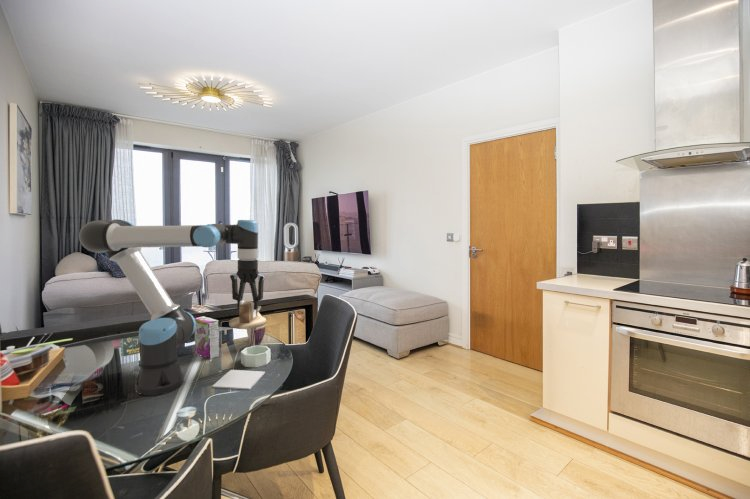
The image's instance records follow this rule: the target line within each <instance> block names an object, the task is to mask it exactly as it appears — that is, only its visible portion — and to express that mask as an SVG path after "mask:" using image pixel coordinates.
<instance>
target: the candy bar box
mask: <svg viewBox="0 0 750 499" xmlns="http://www.w3.org/2000/svg"><path fill="white" fill-rule="evenodd" d="M194 319H195V322H196V328H195V331H194V344H195V345H194V348H195V349H194V350H195V352H194V354H195V353H197V354H199V355H198V356H200V355H201V356H200V357H202V358H205V357H206V358H205V359H208V360H213V359H216V358H218V357H220V333H219V332H220V331H219V330H220V328H219V327H220V326H219V320H218V319H215V318H211V317H207V316H198V317H194ZM197 354H196V355H197ZM215 357H216V358H215ZM212 358H213V359H212Z"/></svg>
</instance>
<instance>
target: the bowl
mask: <svg viewBox="0 0 750 499" xmlns="http://www.w3.org/2000/svg"><path fill="white" fill-rule="evenodd" d="M271 355H272V352H271V348H269V347H268V346H267V345H260V346H258V345H256V346H251V347H250V346H248V347H244V349H242V350H241V351H240V364H242V366H244V367H245V368H258V367H262V366H265V365H266V366H267V365H268V363H269V362H271V361H272V358H271Z"/></svg>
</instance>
